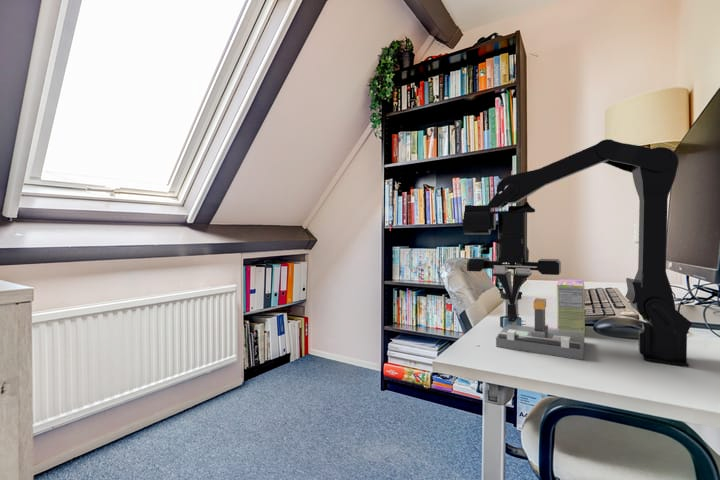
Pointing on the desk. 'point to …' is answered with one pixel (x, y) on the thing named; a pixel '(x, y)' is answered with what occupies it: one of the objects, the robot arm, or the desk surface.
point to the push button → (510, 311)
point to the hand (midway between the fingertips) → (512, 304)
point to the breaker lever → (540, 314)
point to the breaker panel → (542, 341)
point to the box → (571, 306)
